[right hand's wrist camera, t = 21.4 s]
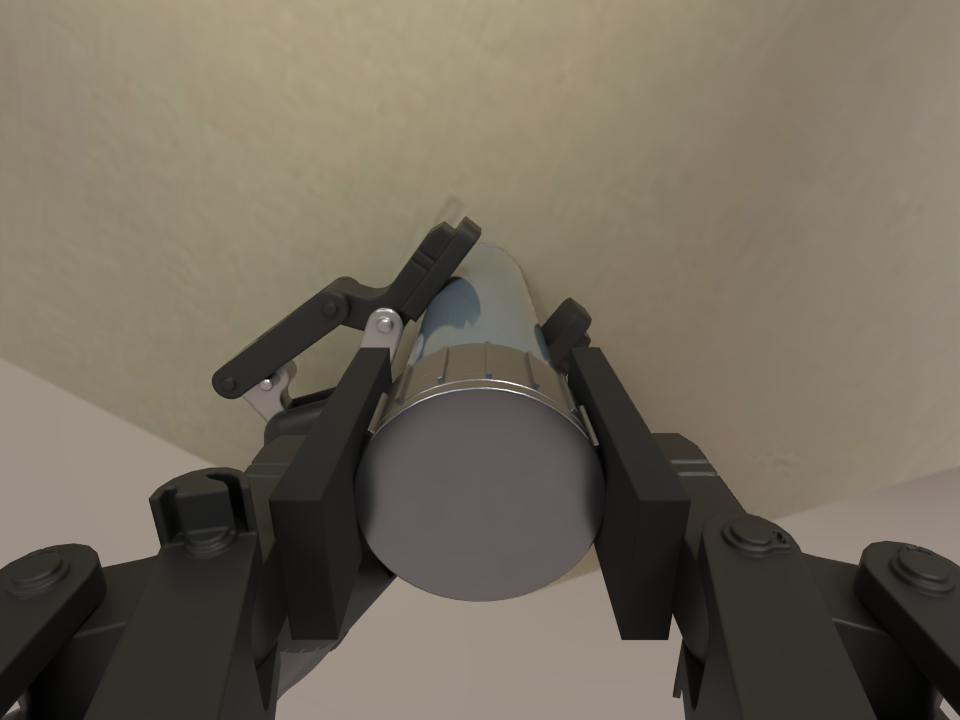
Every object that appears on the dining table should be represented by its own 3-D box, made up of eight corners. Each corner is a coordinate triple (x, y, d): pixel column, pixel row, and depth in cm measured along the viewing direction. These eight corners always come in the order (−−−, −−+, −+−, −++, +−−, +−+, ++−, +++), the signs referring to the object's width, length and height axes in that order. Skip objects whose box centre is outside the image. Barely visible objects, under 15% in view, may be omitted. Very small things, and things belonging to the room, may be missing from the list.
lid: (633, 432, 12) (666, 493, 10) (489, 563, 13) (491, 642, 11) (469, 293, 11) (466, 327, 9) (329, 451, 12) (297, 515, 10)
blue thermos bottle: (450, 230, 25) (406, 352, 10) (537, 260, 25) (620, 417, 10) (424, 315, 26) (351, 532, 11) (506, 341, 27) (541, 583, 12)
